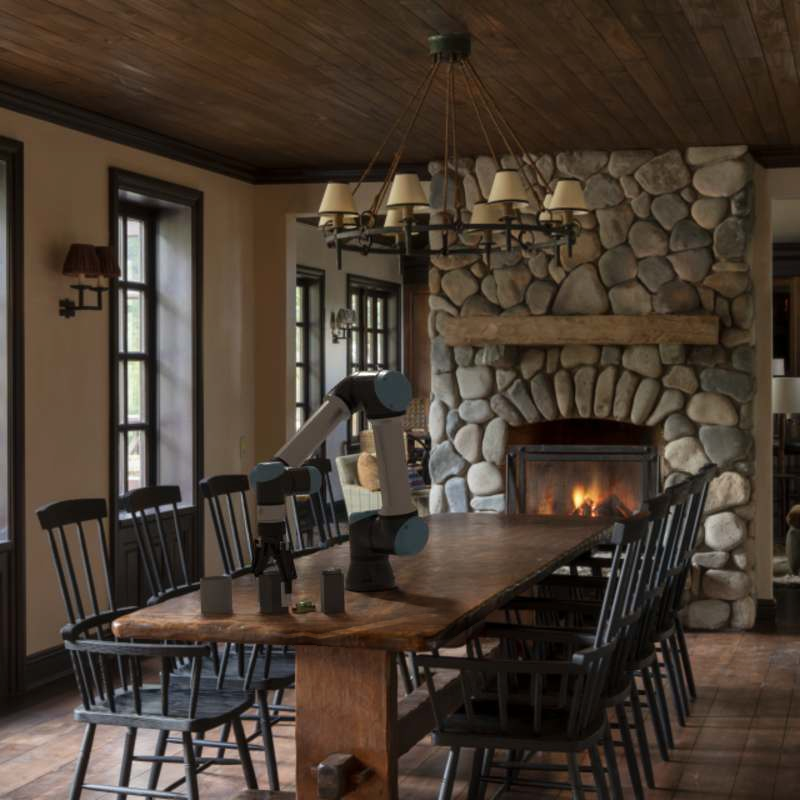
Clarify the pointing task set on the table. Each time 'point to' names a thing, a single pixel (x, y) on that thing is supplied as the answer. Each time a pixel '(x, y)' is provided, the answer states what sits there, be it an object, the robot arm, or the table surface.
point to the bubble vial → (303, 607)
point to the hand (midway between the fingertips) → (274, 603)
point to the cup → (216, 594)
